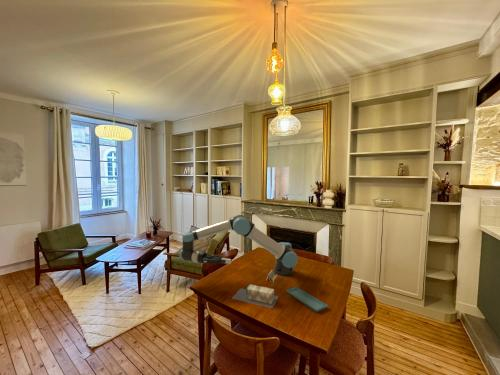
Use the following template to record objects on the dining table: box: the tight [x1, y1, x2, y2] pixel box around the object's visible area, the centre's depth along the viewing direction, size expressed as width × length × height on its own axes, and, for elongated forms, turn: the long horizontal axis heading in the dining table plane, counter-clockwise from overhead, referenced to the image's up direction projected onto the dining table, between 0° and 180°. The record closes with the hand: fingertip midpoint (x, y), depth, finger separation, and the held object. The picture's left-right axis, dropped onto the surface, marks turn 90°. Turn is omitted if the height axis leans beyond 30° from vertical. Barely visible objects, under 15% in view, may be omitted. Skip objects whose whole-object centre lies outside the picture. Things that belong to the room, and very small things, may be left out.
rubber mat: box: [231, 288, 279, 310], centre depth 138 cm, size 26×14×1 cm, turn 68°
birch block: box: [245, 284, 275, 304], centre depth 137 cm, size 6×6×16 cm
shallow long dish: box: [285, 286, 329, 313], centre depth 137 cm, size 26×9×2 cm, turn 31°
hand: (230, 261), depth 146 cm, fingers closed
